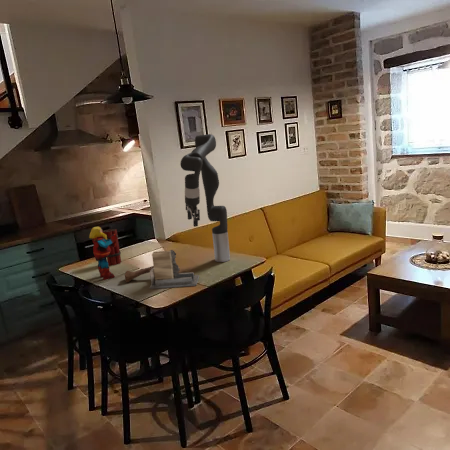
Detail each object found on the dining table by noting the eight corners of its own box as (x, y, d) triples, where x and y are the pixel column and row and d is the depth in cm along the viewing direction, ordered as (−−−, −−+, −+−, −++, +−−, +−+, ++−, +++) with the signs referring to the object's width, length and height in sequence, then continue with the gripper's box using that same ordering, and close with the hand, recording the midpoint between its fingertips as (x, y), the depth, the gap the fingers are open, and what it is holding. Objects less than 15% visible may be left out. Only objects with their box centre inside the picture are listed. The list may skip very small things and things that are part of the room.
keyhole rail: (155, 279, 222) (153, 265, 220) (199, 276, 220) (197, 262, 218) (149, 289, 208) (147, 274, 206) (196, 285, 206) (194, 270, 204)
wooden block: (157, 280, 216) (153, 251, 213) (174, 279, 216) (170, 250, 212) (155, 283, 212) (151, 254, 209) (172, 282, 212) (169, 252, 208)
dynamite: (104, 263, 261) (97, 218, 255) (117, 260, 267) (111, 215, 260) (111, 266, 254) (104, 219, 247) (124, 262, 259) (117, 216, 253)
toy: (126, 276, 231) (119, 225, 225) (100, 283, 223) (92, 230, 217) (118, 270, 243) (111, 222, 237) (93, 277, 236) (85, 226, 230)
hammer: (129, 282, 230) (181, 268, 232) (128, 292, 221) (182, 277, 223) (121, 260, 224) (174, 246, 226) (120, 269, 215) (175, 254, 217)
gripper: (204, 198, 202) (204, 227, 210) (193, 188, 213) (194, 215, 221) (190, 201, 199) (190, 230, 207) (180, 190, 210) (181, 218, 218)
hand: (192, 222), depth 214 cm, fingers open, 8 cm apart
